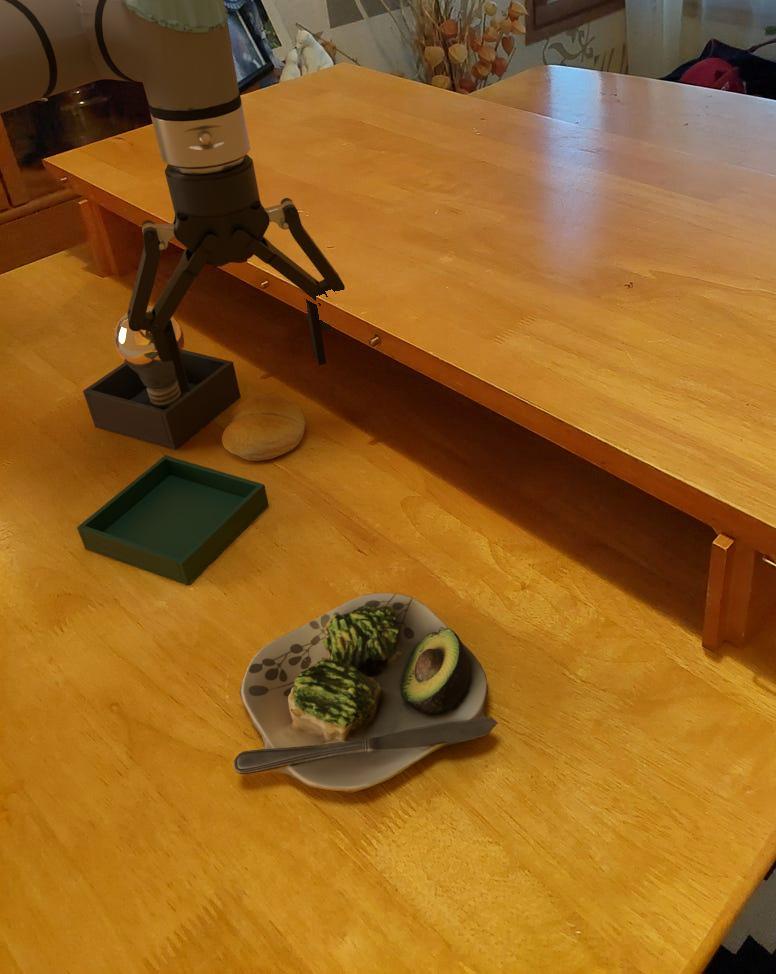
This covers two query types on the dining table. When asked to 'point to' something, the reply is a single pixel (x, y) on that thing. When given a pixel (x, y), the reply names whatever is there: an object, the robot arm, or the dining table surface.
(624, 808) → the dining table surface
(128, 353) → the light bulb
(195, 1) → the robot arm
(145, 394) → the bin
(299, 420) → the bread roll
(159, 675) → the dining table surface
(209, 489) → the tray
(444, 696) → the avocado toast plate
